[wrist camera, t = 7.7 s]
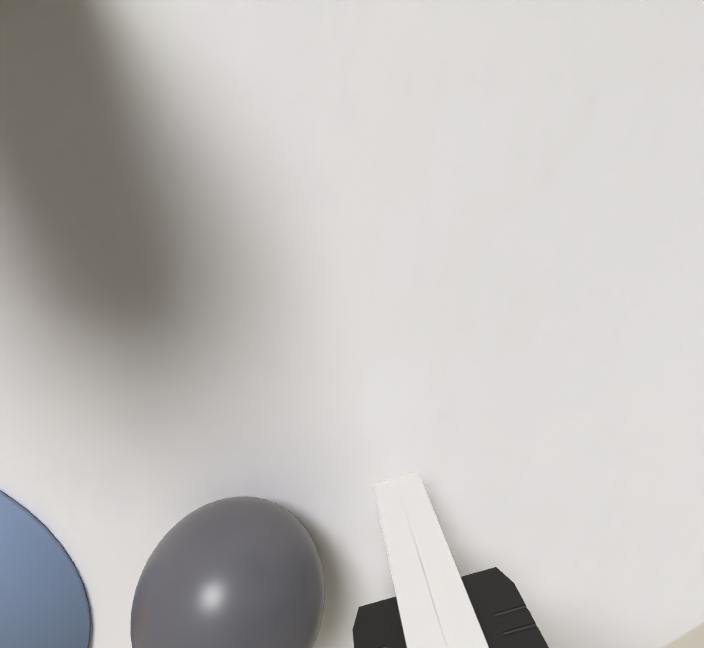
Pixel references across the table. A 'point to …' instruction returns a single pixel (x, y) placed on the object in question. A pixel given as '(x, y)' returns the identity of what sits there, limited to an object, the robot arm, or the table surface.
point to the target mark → (38, 586)
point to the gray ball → (231, 581)
